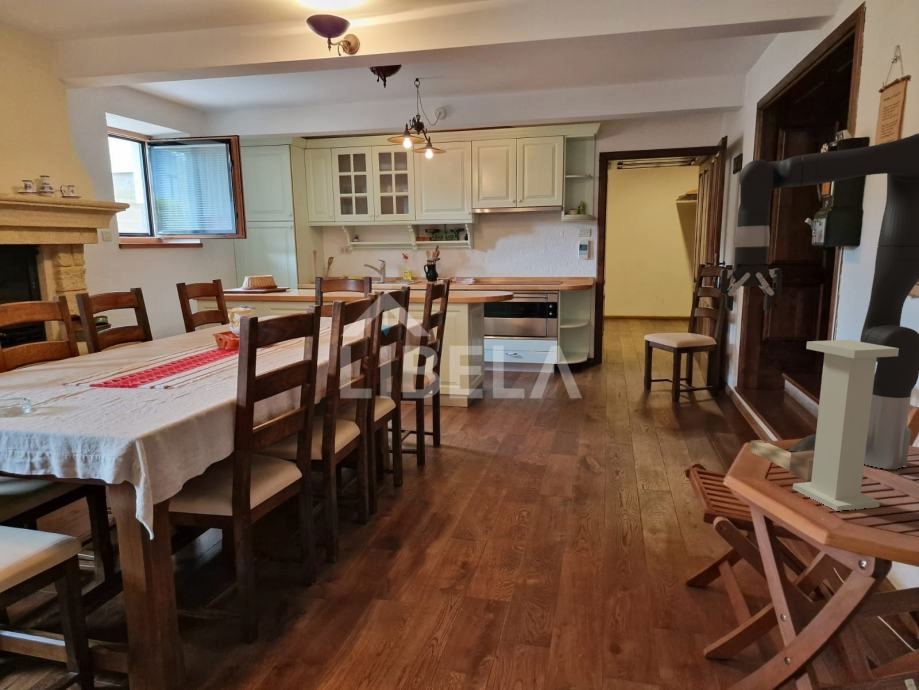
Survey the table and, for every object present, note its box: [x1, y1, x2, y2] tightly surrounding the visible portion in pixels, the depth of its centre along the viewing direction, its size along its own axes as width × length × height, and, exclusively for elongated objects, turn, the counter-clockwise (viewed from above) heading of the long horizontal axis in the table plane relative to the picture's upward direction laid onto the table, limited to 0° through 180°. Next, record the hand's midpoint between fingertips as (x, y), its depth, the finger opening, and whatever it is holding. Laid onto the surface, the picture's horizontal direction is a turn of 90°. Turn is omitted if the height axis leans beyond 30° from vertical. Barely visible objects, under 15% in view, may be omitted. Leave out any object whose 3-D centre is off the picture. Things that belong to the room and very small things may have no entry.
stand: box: [792, 339, 899, 512], centre depth 112 cm, size 11×10×32 cm
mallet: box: [749, 439, 814, 482], centre depth 132 cm, size 19×6×5 cm, turn 13°
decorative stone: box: [787, 433, 816, 453], centre depth 140 cm, size 17×6×4 cm, turn 126°
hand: (748, 310), depth 140 cm, fingers open, 8 cm apart
